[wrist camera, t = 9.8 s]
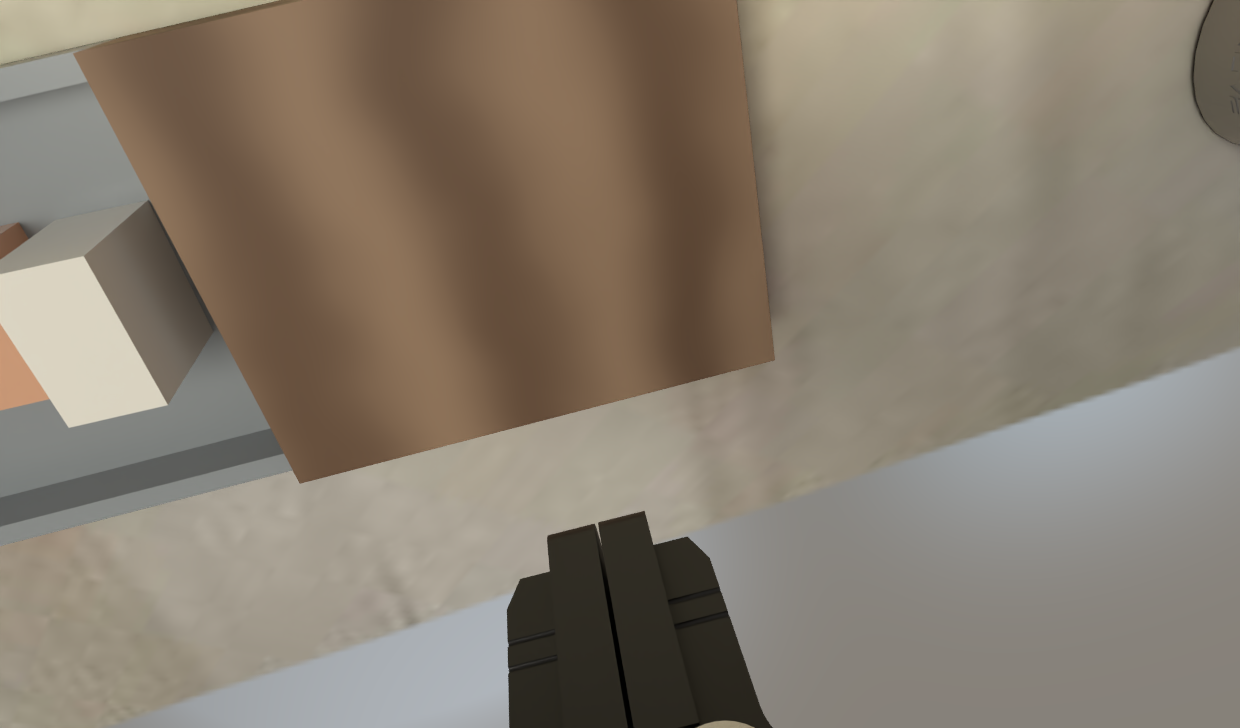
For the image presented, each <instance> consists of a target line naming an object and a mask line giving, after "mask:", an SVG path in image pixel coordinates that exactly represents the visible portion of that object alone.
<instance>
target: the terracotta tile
mask: <svg viewBox="0 0 1240 728" xmlns="http://www.w3.org/2000/svg"><path fill="white" fill-rule="evenodd" d="M27 240H28V237H27V235H26V234H25V232H24V230H23V229H22V227H21V225H20V224H19V222H17V223H12V224H7V225H3V226H0V260H1V259H2V258H3V257H5V256H6V255H8V254H9V253H10V252H12V251H13V250H14V249H16V248H17V247H19V246H20V245H21V244H23V243H24V242H26V241H27ZM48 399H49V397H48V396H47V394H46V393H45V391H44V389H43V388H42V386H41V385H40V383H39V382H38V380H37V379H36V377H35V376H34V374H33V373H32V371H31V370H30V368H29V367H28V365H27V364H26V362H25V361H24V359H23V358H22V356H21V354H20V353H19V351H18V350H17V348H16V347H15V345H14V344H13V342H12V341H11V339H10V338H9V336H8V335H7V333H6V332H5V330H4V329H3V327H2V326H1V324H0V410H5V409H9V408H13V407H18V406H22V405H26V404H31V403H35V402H39V401H44V400H48Z"/></svg>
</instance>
